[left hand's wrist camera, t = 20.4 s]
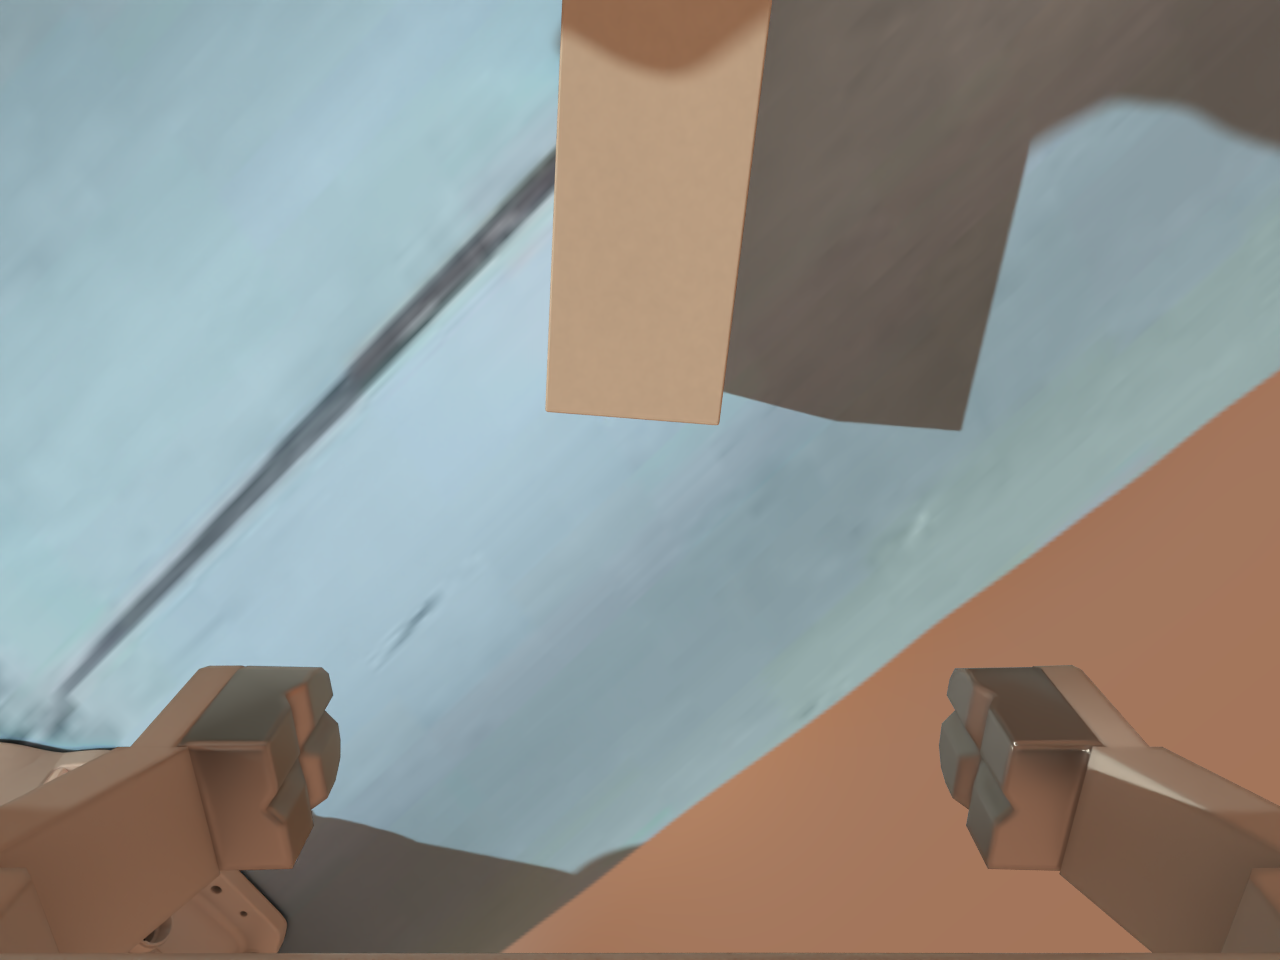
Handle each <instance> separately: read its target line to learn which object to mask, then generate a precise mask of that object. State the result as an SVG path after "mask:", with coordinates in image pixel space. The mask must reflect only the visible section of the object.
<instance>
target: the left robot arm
mask: <svg viewBox="0 0 1280 960" xmlns="http://www.w3.org/2000/svg"><path fill="white" fill-rule="evenodd" d="M332 696H333V692H332V687H331V682H330V678H329V673H327V672H326V671H325V670H324V669H323V668H322V667H280V666H246V667H245V666H207V667H204V668H201V669H199V670H198V671H197V672H196V673H195V674H194V675H193V676H192V678H191V679H190V680H189V681H188V682H187V683H186V684H185V686H184V687H183V688H182V689H181V690H180V691H179V692H178V693H177V695H176V696H175V697H174V698H173V699H172V700H171V701H170V703H169V704H168V705H167V706H166V707H165V708H164V709H163V710H162V712H161V713H160V714H159V715H158V716H157V717H156V718H155V720H154V721H153V722H152V723H151V724H150V725H149V726H148V727H147V729H146V730H145V731H144V732H143V733H142V734H141V735H140V737H139V738H138V739H137V740H136V741H135V742H134V743H133V744H132V746H131V747H117V748H115V749H113V750H85V751H75V752H66V753H62V752H53V751H47V750H42V749H38V748H33V747H28V746H24V745H18V744H12V743H3V742H0V960H1280V806H1278V805H1276V804H1274V803H1272V802H1270V801H1268V800H1266V799H1264V798H1262V797H1260V796H1258V795H1256V794H1254V793H1253V792H1251V791H1249V790H1247V789H1245V788H1243V787H1241V786H1239V785H1237V784H1235V783H1233V782H1231V781H1229V780H1227V779H1225V778H1223V777H1221V776H1219V775H1217V774H1215V773H1213V772H1211V771H1209V770H1207V769H1205V768H1203V767H1201V766H1199V765H1197V764H1195V763H1193V762H1191V761H1189V760H1187V759H1185V758H1183V757H1181V756H1179V755H1177V754H1175V753H1173V752H1171V751H1169V750H1167V749H1165V748H1163V747H1149V746H1148V745H1147V743H1146V742H1145V741H1144V740H1143V739H1142V738H1141V737H1140V735H1139V734H1138V733H1137V732H1136V731H1135V730H1134V729H1133V727H1132V726H1131V725H1130V724H1129V723H1128V722H1127V721H1126V720H1125V718H1124V717H1123V716H1122V715H1121V714H1120V713H1119V712H1118V710H1117V709H1116V708H1115V707H1114V706H1113V705H1112V704H1111V703H1110V701H1109V700H1108V699H1107V698H1106V697H1105V696H1104V695H1103V693H1102V692H1101V691H1100V690H1099V689H1098V688H1097V687H1096V686H1095V684H1094V683H1093V682H1092V681H1091V680H1090V679H1089V678H1088V676H1087V675H1086V674H1085V673H1084V672H1083V671H1082V670H1081V669H1079V668H1077V667H1075V666H1073V665H1061V666H1033V667H1017V668H955V669H954V671H953V674H952V675H951V677H950V681H949V686H948V691H947V696H948V698H949V700H950V702H951V703H952V705H953V707H954V709H955V711H954V712H953V713H952V714H951V715H950V716H949V717H948V718H947V719H946V720H945V721H944V722H943V723H942V727H941V735H940V743H939V749H940V761H941V769H942V772H943V775H944V779H945V783H946V785H947V787H948V789H949V791H950V793H951V795H952V798H953V799H955V800H956V801H958V802H959V803H960V804H962V805H963V806H965V807H966V808H967V809H969V813H968V819H967V824H966V826H967V828H968V830H969V832H970V834H971V836H972V838H973V840H974V842H975V844H976V846H977V848H978V850H979V852H980V854H981V856H982V858H983V860H984V862H985V864H986V866H987V868H988V869H1015V870H1051V871H1060V875H1061V876H1062V877H1064V878H1065V879H1066V880H1067V881H1068V882H1069V883H1071V884H1072V885H1073V886H1074V887H1075V888H1077V889H1078V890H1079V891H1080V892H1081V893H1082V894H1084V895H1085V896H1086V897H1087V898H1088V899H1090V900H1091V901H1092V902H1093V903H1094V904H1096V905H1097V906H1098V907H1099V908H1100V909H1101V910H1103V911H1104V912H1105V913H1106V914H1107V915H1108V916H1110V917H1111V918H1112V919H1113V920H1114V921H1116V922H1117V923H1118V924H1119V925H1120V926H1122V927H1123V928H1124V929H1125V930H1126V931H1127V932H1129V933H1130V934H1131V935H1132V936H1133V937H1135V938H1136V939H1137V940H1138V941H1139V942H1140V943H1142V944H1143V945H1144V946H1145V947H1146V948H1148V949H1149V950H1150V951H1151V952H1152V953H278V951H279V950H280V947H281V945H282V943H283V941H284V938H285V934H286V929H287V922H286V919H285V918H284V917H283V916H282V914H281V913H280V912H279V911H278V910H277V909H276V908H275V907H274V906H273V905H272V904H271V903H270V902H269V901H268V900H267V899H266V898H265V897H264V896H263V895H262V893H261V892H260V891H259V890H258V889H257V888H256V887H255V886H254V885H253V884H252V883H251V882H250V881H249V880H248V879H247V878H246V877H245V876H244V875H243V874H242V873H241V872H240V871H239V870H264V869H292V868H293V866H294V864H295V862H296V860H297V858H298V856H299V854H300V852H301V850H302V848H303V846H304V844H305V842H306V840H307V838H308V836H309V834H310V832H311V830H312V828H313V826H314V824H313V818H312V813H311V809H313V808H314V807H315V806H317V805H318V804H320V803H321V802H322V801H324V800H325V799H327V798H328V795H329V793H330V791H331V789H332V787H333V785H334V782H335V780H336V775H337V771H338V766H339V762H340V733H339V727H338V723H337V722H336V721H335V720H334V719H333V718H332V717H331V716H330V715H329V714H328V713H327V712H326V711H325V709H326V707H327V705H328V703H329V702H330V700H331V698H332Z"/></svg>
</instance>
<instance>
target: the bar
mask: <svg viewBox="0 0 1280 960" xmlns="http://www.w3.org/2000/svg"><path fill="white" fill-rule="evenodd" d="M771 6H772V0H562V20H561V44H560V68H559V93H558V117H557V141H556V166H555V190H554V214H553V238H552V263H551V287H550V311H549V336H548V360H547V384H546V408H545V409H546V411H547V412H556V413H569V414H582V415H594V416H607V417H620V418H632V419H645V420H658V421H670V422H683V423H695V424H708V425H718V424H719V421H720V413H721V405H722V397H723V389H724V381H725V373H726V365H727V357H728V349H729V341H730V333H731V325H732V317H733V309H734V301H735V293H736V285H737V277H738V269H739V261H740V253H741V246H742V238H743V230H744V222H745V214H746V206H747V198H748V190H749V182H750V174H751V166H752V158H753V150H754V142H755V134H756V126H757V118H758V110H759V102H760V94H761V86H762V78H763V70H764V62H765V54H766V46H767V38H768V30H769V22H770V14H771Z"/></svg>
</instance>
